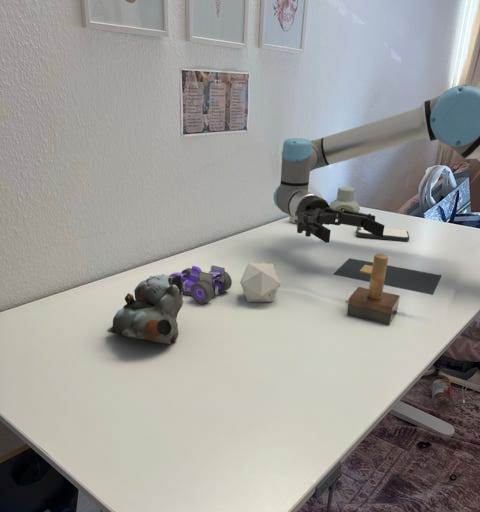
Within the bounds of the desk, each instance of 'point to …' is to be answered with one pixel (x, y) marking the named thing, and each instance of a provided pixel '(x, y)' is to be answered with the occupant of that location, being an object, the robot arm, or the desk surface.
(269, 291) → the die
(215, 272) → the toy race car
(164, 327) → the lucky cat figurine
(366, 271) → the pad
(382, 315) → the wooden peg stand
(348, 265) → the mat
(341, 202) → the air freshener
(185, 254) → the desk surface
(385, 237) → the phone case
